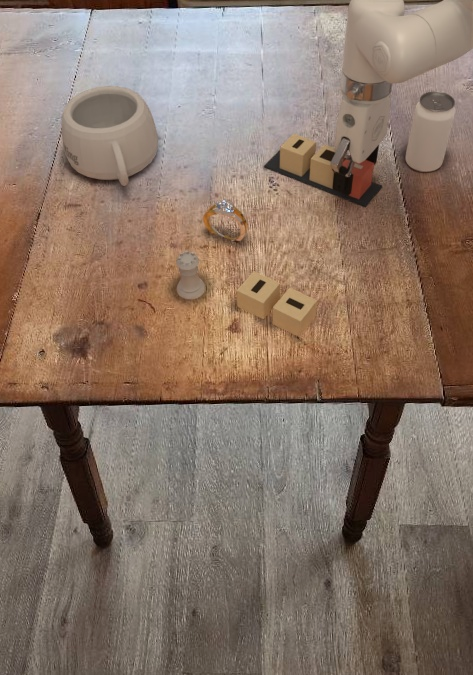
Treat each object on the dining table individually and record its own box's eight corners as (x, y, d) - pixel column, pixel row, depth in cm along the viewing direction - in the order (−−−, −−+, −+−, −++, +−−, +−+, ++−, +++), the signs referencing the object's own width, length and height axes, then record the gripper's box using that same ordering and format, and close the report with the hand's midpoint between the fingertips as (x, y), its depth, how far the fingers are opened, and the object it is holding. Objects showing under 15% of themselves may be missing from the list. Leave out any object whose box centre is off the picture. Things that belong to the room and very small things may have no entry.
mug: (61, 139, 126) (47, 91, 119) (148, 120, 129) (141, 72, 121) (80, 212, 114) (66, 163, 106) (176, 190, 116) (170, 141, 109)
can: (437, 149, 121) (452, 88, 112) (446, 172, 117) (462, 111, 108) (401, 151, 121) (412, 90, 111) (409, 174, 117) (422, 113, 108)
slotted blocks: (359, 338, 95) (363, 316, 91) (339, 368, 92) (342, 346, 89) (241, 282, 103) (240, 259, 99) (219, 308, 100) (217, 285, 96)
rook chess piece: (195, 279, 103) (191, 241, 97) (212, 296, 101) (209, 258, 95) (171, 292, 102) (165, 254, 96) (187, 310, 100) (182, 273, 93)
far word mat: (382, 187, 115) (386, 163, 111) (365, 207, 112) (369, 183, 108) (281, 149, 122) (282, 125, 119) (263, 167, 120) (263, 143, 116)
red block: (371, 184, 115) (374, 162, 111) (358, 199, 113) (361, 177, 109) (347, 175, 117) (350, 153, 113) (334, 190, 115) (337, 168, 111)
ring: (250, 242, 108) (249, 204, 102) (240, 255, 106) (238, 217, 100) (212, 228, 110) (209, 190, 104) (202, 241, 109) (198, 202, 102)
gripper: (362, 119, 94) (349, 214, 107) (416, 60, 102) (398, 156, 116) (314, 102, 96) (308, 198, 110) (371, 47, 105) (358, 142, 119)
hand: (354, 176), depth 113 cm, fingers open, 8 cm apart
